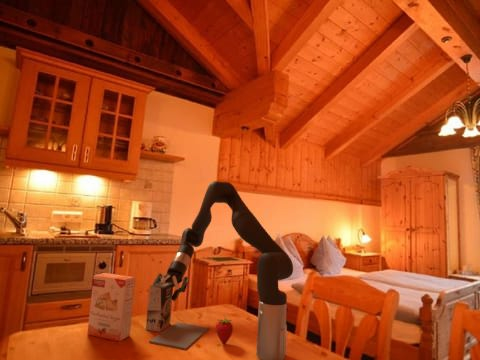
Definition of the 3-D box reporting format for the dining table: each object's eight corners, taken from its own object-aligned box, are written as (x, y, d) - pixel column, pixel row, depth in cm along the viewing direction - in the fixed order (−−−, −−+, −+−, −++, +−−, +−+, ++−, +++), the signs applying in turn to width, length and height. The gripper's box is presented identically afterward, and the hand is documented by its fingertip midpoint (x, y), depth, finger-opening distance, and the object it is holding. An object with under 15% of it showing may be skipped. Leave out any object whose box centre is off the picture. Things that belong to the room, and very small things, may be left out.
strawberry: (215, 349, 101) (216, 318, 102) (215, 339, 109) (216, 311, 110) (232, 349, 101) (234, 318, 103) (231, 340, 109) (232, 311, 110)
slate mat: (209, 329, 118) (209, 327, 118) (185, 349, 99) (186, 348, 99) (177, 323, 122) (177, 322, 122) (149, 342, 103) (149, 340, 103)
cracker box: (86, 335, 106) (92, 274, 109) (98, 329, 112) (104, 272, 114) (119, 342, 102) (125, 279, 105) (130, 336, 108) (136, 276, 110)
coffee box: (160, 332, 113) (164, 287, 115) (145, 329, 114) (148, 286, 116) (170, 323, 122) (174, 282, 124) (156, 321, 123) (159, 281, 125)
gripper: (162, 258, 133) (145, 290, 121) (191, 261, 129) (176, 295, 117) (167, 268, 138) (151, 301, 126) (196, 272, 134) (182, 306, 121)
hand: (163, 298), depth 121 cm, fingers open, 8 cm apart
